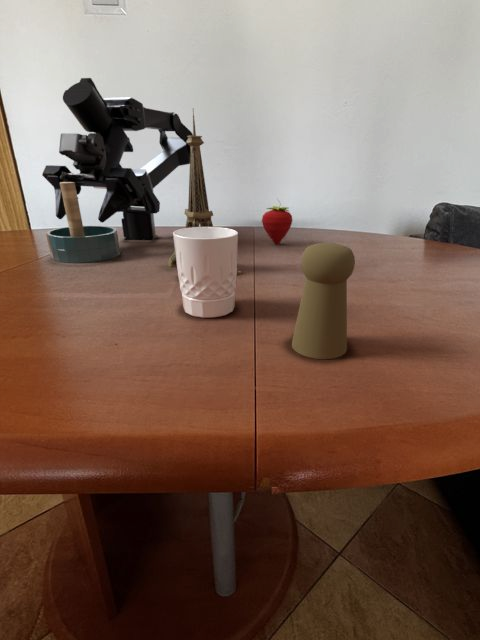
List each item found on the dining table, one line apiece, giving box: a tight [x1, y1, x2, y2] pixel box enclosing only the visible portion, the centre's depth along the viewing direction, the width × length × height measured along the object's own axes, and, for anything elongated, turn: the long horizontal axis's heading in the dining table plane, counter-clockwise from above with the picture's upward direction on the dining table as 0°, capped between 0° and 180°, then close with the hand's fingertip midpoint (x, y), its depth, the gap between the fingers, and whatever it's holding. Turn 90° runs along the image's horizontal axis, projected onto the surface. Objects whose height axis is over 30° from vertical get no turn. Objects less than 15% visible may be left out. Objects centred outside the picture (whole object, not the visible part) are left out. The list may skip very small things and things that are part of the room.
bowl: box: [45, 225, 121, 264], centre depth 72 cm, size 12×12×5 cm
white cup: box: [172, 226, 239, 319], centre depth 48 cm, size 8×8×10 cm
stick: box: [60, 182, 85, 237], centre depth 69 cm, size 4×4×13 cm
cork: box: [291, 242, 356, 360], centre depth 39 cm, size 6×6×11 cm
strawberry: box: [261, 199, 293, 245], centre depth 86 cm, size 6×8×10 cm
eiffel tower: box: [165, 109, 243, 279], centre depth 62 cm, size 11×11×25 cm
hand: (79, 219), depth 70 cm, fingers open, 9 cm apart
